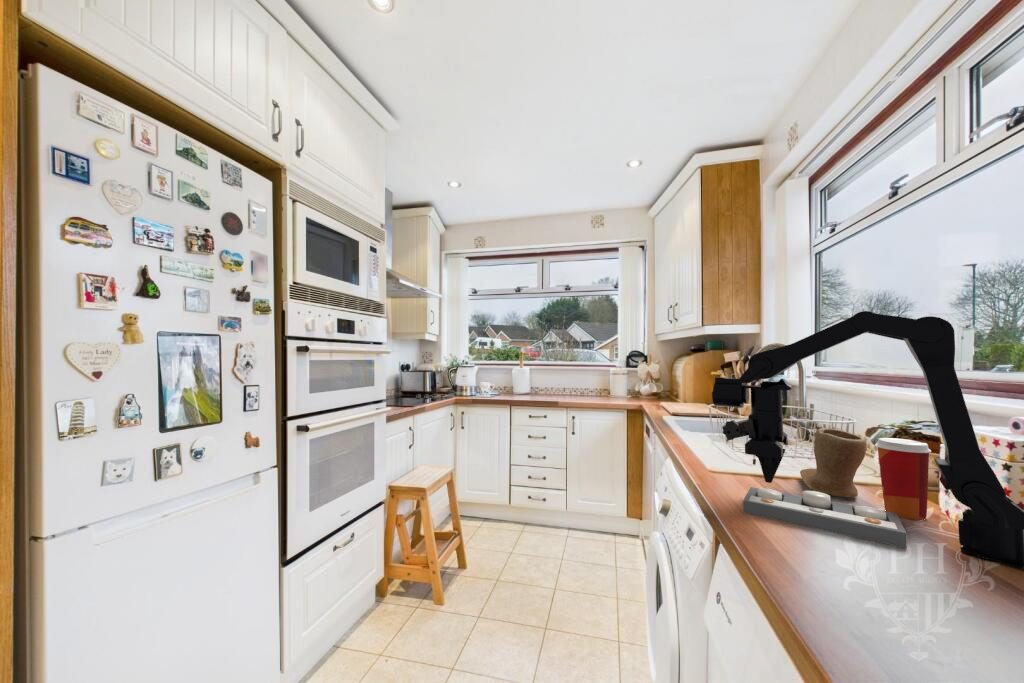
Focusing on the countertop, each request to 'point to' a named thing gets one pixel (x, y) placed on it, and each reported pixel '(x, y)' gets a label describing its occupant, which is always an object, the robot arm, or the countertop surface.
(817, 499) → the button middle
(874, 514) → the button
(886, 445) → the coffee cup
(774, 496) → the button
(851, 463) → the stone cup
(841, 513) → the button board
